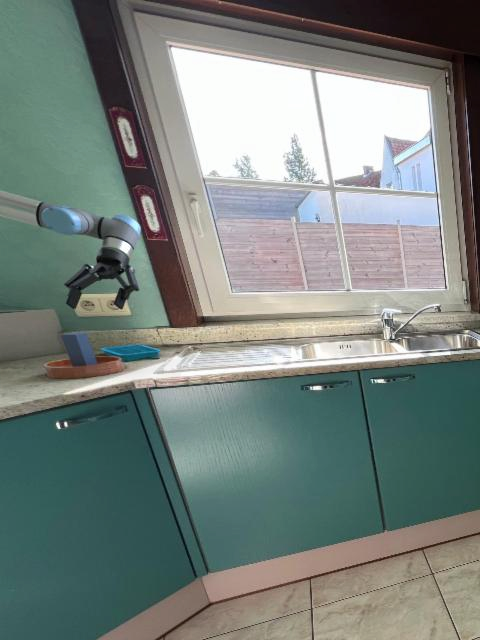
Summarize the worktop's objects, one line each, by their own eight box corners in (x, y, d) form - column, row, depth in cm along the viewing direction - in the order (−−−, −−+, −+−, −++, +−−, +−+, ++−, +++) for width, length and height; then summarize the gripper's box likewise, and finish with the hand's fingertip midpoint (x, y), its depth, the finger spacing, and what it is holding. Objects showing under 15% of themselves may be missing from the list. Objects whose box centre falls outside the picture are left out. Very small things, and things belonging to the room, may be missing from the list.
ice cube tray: (142, 352, 187) (139, 344, 186) (165, 358, 177) (162, 350, 176) (101, 356, 178) (98, 348, 176) (123, 364, 168) (120, 355, 167)
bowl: (41, 383, 143) (36, 369, 142) (56, 371, 156) (51, 359, 155) (120, 376, 152) (116, 363, 151) (129, 366, 165) (125, 354, 164)
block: (75, 373, 152) (60, 334, 147) (86, 370, 156) (71, 332, 151) (89, 373, 152) (75, 334, 148) (100, 370, 156) (86, 332, 152)
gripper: (163, 264, 170) (146, 314, 162) (82, 263, 167) (61, 313, 159) (147, 247, 163) (128, 298, 155) (63, 246, 160) (39, 298, 152)
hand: (94, 306), depth 157 cm, fingers open, 13 cm apart
